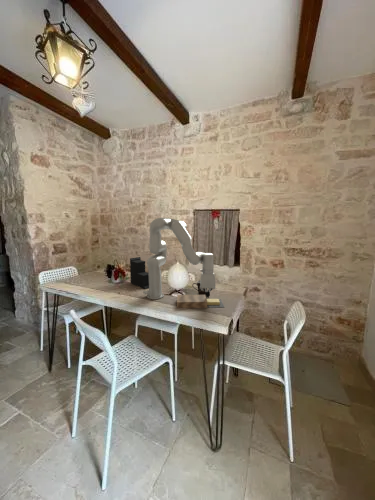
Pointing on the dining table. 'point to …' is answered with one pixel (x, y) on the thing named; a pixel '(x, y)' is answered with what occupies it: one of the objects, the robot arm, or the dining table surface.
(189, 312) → the dining table surface
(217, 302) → the yellow flat block
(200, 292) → the coffee mug
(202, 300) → the brown flat block
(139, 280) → the bookend
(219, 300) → the mat
